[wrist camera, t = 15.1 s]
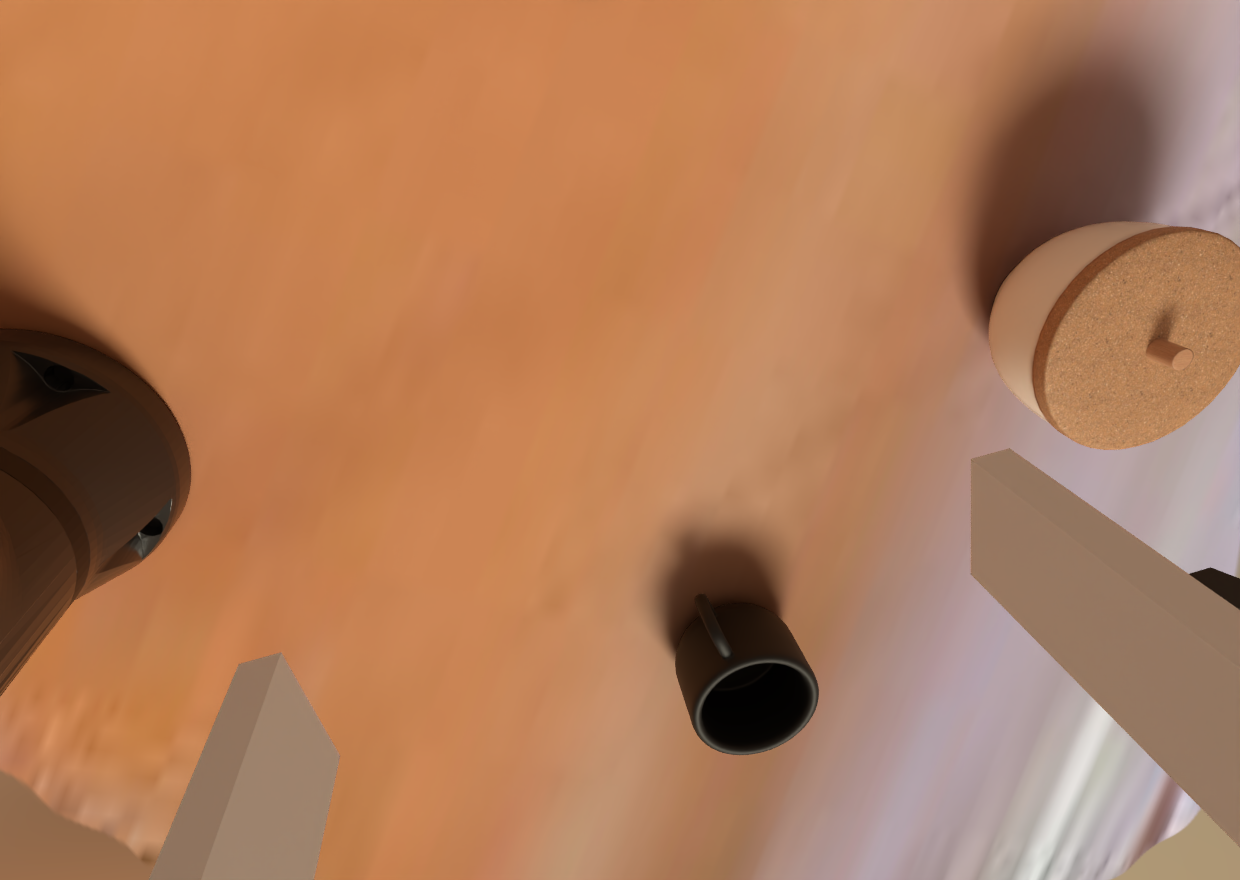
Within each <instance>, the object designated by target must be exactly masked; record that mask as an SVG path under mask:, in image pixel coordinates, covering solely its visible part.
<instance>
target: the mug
mask: <svg viewBox="0 0 1240 880" xmlns="http://www.w3.org/2000/svg"><path fill="white" fill-rule="evenodd" d="M695 603H696V606H697V608H698V611H699V613H700V615H701V616H700V617H698V618H697V619H696V620H695V621H694V622H692V624H691V625H690V626H689V627H688V628H687V630H686V631H685V632H684V634H683V636H682V638H681V640H680V643H679V646H678V649H677V653H676V661H675V667H676V675H677V678H678V682H679V685H680V688H681V691H682V694H683V697H684V700H685V703H686V706H687V709H688V712H689V715H690V719H691V722H692V725H693V728H694V730H695V731H696V733H697V735H698V736H699V738H700V739H701V740H702V741H703V742H704V743H705V744H707V745H708V746H710V747H711V748H713V749H715V750H717V751H719V752H723V753H726V754H732V755H749V754H756V753H761V752H764V751H767V750H771V749H773V748H775V747H778V746H780V745H782V744H783V743H785V742H787V741H788V740H790V739H791V738H793V737H794V736H795V735H796V734H798V733H799V732H800V731H801V730H802V729H803V728H804V727H805V726H806V724H807V723H808V722H809V720H810V719H811V717H812V716H813V714H814V712H815V710H816V706H817V703H818V697H819V688H818V683H817V680H816V677H815V675H814V673H813V671H812V669H811V668H810V666H809V664H808V662H807V661H806V659H805V657H804V655H803V653H802V651H801V650H800V648H799V646H798V644H797V642H796V641H795V639H794V637H793V635H792V633H791V632H790V630H789V629H788V627H787V625H786V624H785V623H784V622H783V621H782V620H781V619H780V618H779V617H778V616H776V615H775V614H774V613H772V612H770V611H768V610H767V609H765V608H762V607H760V606H757V605H753V604H748V603H732V604H726V605H722V606H719V607H716V608H713V606H712V604H711V603H710V601H709V599H708V598H707V596H706V595H705V594H699V595H697V596H696V597H695Z"/></svg>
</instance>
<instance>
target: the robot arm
mask: <svg viewBox="0 0 1240 880" xmlns="http://www.w3.org/2000/svg"><path fill="white" fill-rule="evenodd" d="M190 483H191V465H190V458H189V453H188V449H187V446H186V442H185V440H184V437H183V435H182V432H181V430H180V428H179V426H178V424H177V422H176V421H175V419H174V417H173V416H172V414H171V412H170V411H169V410H168V408H167V407H166V405H165V404H164V403H163V402H162V400H161V399H160V398H159V397H158V396H157V395H156V394H155V393H154V391H153V390H152V389H151V388H150V387H149V386H147V385H146V384H145V383H144V382H143V381H142V380H141V379H140V378H138V377H137V376H136V375H135V374H134V373H132V372H131V371H130V370H128V369H127V368H126V367H124V366H122V365H121V364H119V363H118V362H116V361H115V360H113V359H111V358H110V357H108V356H106V355H104V354H102V353H100V352H98V351H96V350H94V349H92V348H90V347H87V346H85V345H83V344H80V343H78V342H75V341H72V340H69V339H66V338H63V337H59V336H55V335H51V334H47V333H42V332H36V331H29V330H18V329H0V696H1V695H2V694H3V692H4V691H5V690H6V688H7V687H8V686H9V684H10V683H11V682H12V681H13V679H14V678H15V677H16V675H17V674H18V673H19V671H20V670H21V669H22V667H23V666H24V665H25V663H26V662H27V661H28V660H29V658H30V657H31V656H32V654H33V653H34V652H35V650H36V649H37V648H38V646H39V645H40V644H41V643H42V641H43V640H44V639H45V637H46V636H47V635H48V634H49V632H50V631H51V630H52V628H53V627H54V626H55V625H56V623H57V622H58V621H59V619H60V618H61V617H62V616H63V614H64V613H65V611H66V610H67V609H68V607H69V606H70V605H71V604H72V602H73V601H74V600H76V599H78V598H80V597H81V596H83V595H85V594H87V593H89V592H90V591H92V590H94V589H96V588H97V587H99V586H101V585H103V584H105V583H106V582H108V581H110V580H112V579H114V578H115V577H117V576H119V575H121V574H123V573H124V572H126V571H128V570H130V569H132V568H133V567H135V566H136V565H138V564H139V563H140V562H142V561H143V560H144V559H145V558H146V557H148V556H149V555H150V554H151V553H152V552H153V551H154V550H155V549H156V548H157V547H158V546H159V545H160V544H161V542H162V541H163V540H164V538H165V537H166V535H167V534H168V533H169V531H170V530H171V528H172V527H173V526H174V524H175V523H176V521H177V520H178V518H179V516H180V515H181V513H182V511H183V509H184V507H185V504H186V501H187V498H188V494H189V490H190ZM971 575H972V576H973V577H974V578H975V579H976V580H977V581H978V582H979V583H980V584H981V585H982V586H983V587H984V588H985V589H986V590H987V591H988V592H989V593H990V594H991V595H992V596H993V597H994V598H995V599H996V600H997V601H998V602H999V603H1000V604H1001V605H1002V606H1003V607H1004V608H1005V609H1006V610H1007V611H1008V612H1009V613H1010V614H1011V615H1012V616H1013V617H1014V619H1015V620H1016V621H1017V622H1018V623H1019V624H1020V625H1021V626H1022V627H1023V628H1024V629H1025V630H1026V631H1027V632H1028V633H1029V634H1030V635H1031V636H1032V637H1033V638H1034V639H1035V640H1036V641H1037V642H1038V643H1039V644H1040V645H1041V646H1042V647H1043V648H1044V649H1045V650H1046V651H1047V652H1048V653H1049V654H1050V655H1051V656H1052V657H1053V658H1054V659H1055V660H1056V661H1057V662H1058V663H1059V664H1060V665H1061V666H1062V667H1063V668H1064V669H1065V670H1066V671H1067V672H1068V673H1069V674H1070V675H1071V676H1072V677H1073V678H1074V679H1075V680H1076V681H1077V682H1078V683H1079V684H1080V686H1081V687H1082V688H1083V689H1084V690H1085V691H1086V692H1087V693H1088V694H1089V695H1090V696H1091V697H1092V698H1093V699H1094V700H1095V701H1096V702H1097V703H1098V704H1099V705H1100V706H1101V707H1102V708H1103V709H1104V710H1105V711H1106V712H1107V713H1108V714H1109V715H1110V716H1111V717H1112V718H1113V719H1114V720H1115V721H1116V722H1117V723H1118V724H1119V725H1120V726H1121V727H1122V728H1123V729H1124V730H1125V731H1126V732H1127V733H1128V734H1129V735H1130V736H1131V737H1132V738H1133V739H1134V740H1135V741H1136V742H1137V743H1138V744H1139V745H1140V746H1141V747H1142V748H1143V749H1144V750H1145V752H1146V753H1147V754H1148V755H1149V756H1150V757H1151V758H1152V759H1153V760H1154V761H1155V762H1156V763H1157V764H1158V765H1159V766H1160V767H1161V768H1162V769H1163V770H1164V771H1165V772H1166V773H1167V774H1168V775H1169V776H1170V777H1171V778H1172V779H1173V780H1174V781H1175V782H1176V783H1177V784H1178V785H1179V786H1180V787H1181V788H1182V789H1183V790H1184V791H1185V792H1186V793H1187V794H1188V795H1189V796H1190V797H1191V798H1192V799H1193V800H1194V801H1195V802H1196V803H1197V804H1198V805H1199V806H1200V807H1201V808H1202V809H1203V810H1204V811H1205V812H1206V813H1207V814H1208V815H1209V816H1210V817H1211V818H1212V819H1213V821H1214V822H1215V823H1216V824H1217V825H1218V826H1219V827H1220V828H1221V829H1222V830H1223V831H1225V833H1227V835H1228V836H1229V837H1230V838H1231V839H1232V840H1233V841H1234V842H1235V843H1236V844H1238V846H1239V847H1240V579H1239V578H1237V577H1234V576H1232V575H1229V574H1226V573H1224V572H1221V571H1218V570H1216V569H1213V568H1207V569H1204V570H1201V571H1197V572H1194V573H1190V574H1188V573H1186V572H1185V571H1183V570H1182V569H1181V568H1179V567H1178V566H1176V565H1175V564H1173V563H1172V562H1171V561H1169V560H1168V559H1166V558H1165V557H1163V556H1162V555H1161V554H1159V553H1158V552H1156V551H1155V550H1154V549H1152V548H1151V547H1149V546H1148V545H1146V544H1145V543H1144V542H1142V541H1141V540H1139V539H1138V538H1136V537H1135V536H1134V535H1132V534H1131V533H1129V532H1128V531H1126V530H1125V529H1124V528H1122V527H1121V526H1119V525H1118V524H1116V523H1115V522H1114V521H1112V520H1111V519H1109V518H1108V517H1106V516H1105V515H1104V514H1102V513H1101V512H1099V511H1098V510H1096V509H1095V508H1094V507H1092V506H1091V505H1089V504H1088V503H1087V502H1085V501H1084V500H1082V499H1081V498H1079V497H1078V496H1077V495H1075V494H1074V493H1072V492H1071V491H1069V490H1068V489H1067V488H1065V487H1064V486H1062V485H1061V484H1059V483H1058V482H1057V481H1055V480H1054V479H1052V478H1051V477H1049V476H1048V475H1047V474H1045V473H1044V472H1042V471H1041V470H1039V469H1038V468H1037V467H1035V466H1034V465H1032V464H1031V463H1030V462H1028V461H1027V460H1025V459H1024V458H1022V457H1021V456H1020V455H1018V454H1017V453H1015V452H1014V451H1012V450H1011V449H1010V448H1009V449H1005V450H1002V451H998V452H995V453H991V454H988V455H984V456H980V457H977V458H973V459H971ZM339 759H340V755H339V753H338V751H337V750H336V748H335V746H334V744H333V743H332V741H331V739H330V737H329V735H328V734H327V732H326V730H325V728H324V727H323V725H322V723H321V721H320V720H319V718H318V716H317V714H316V713H315V711H314V709H313V707H312V706H311V704H310V702H309V700H308V699H307V697H306V695H305V693H304V692H303V690H302V688H301V686H300V685H299V683H298V681H297V679H296V678H295V676H294V674H293V672H292V670H291V669H290V667H289V665H288V663H287V662H286V660H285V658H284V656H283V655H282V653H277V654H274V655H270V656H266V657H263V658H259V659H256V660H252V661H249V662H245V663H241V664H239V665H238V667H237V670H236V672H235V675H234V677H233V679H232V682H231V684H230V687H229V689H228V691H227V694H226V696H225V699H224V701H223V703H222V706H221V708H220V711H219V713H218V715H217V718H216V720H215V722H214V725H213V727H212V730H211V732H210V734H209V737H208V739H207V742H206V744H205V746H204V749H203V751H202V754H201V756H200V758H199V761H198V763H197V766H196V768H195V770H194V773H193V775H192V777H191V780H190V782H189V785H188V787H187V789H186V792H185V794H184V797H183V799H182V801H181V804H180V806H179V809H178V811H177V813H176V816H175V818H174V821H173V823H172V825H171V828H170V830H169V832H168V835H167V837H166V840H165V842H164V844H163V847H162V849H161V852H160V854H159V856H158V859H157V861H156V864H155V866H154V868H153V871H152V873H151V876H150V878H149V880H314V877H315V872H316V867H317V863H318V858H319V853H320V849H321V844H322V839H323V834H324V830H325V825H326V820H327V815H328V811H329V806H330V801H331V797H332V792H333V787H334V782H335V778H336V773H337V768H338V764H339Z"/></svg>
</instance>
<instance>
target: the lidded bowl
mask: <svg viewBox="0 0 1240 880" xmlns="http://www.w3.org/2000/svg"><path fill="white" fill-rule="evenodd" d="M989 345H990V351H991V356H992V359H993V362H994V364H995V367H996V369H997V371H998V373H999V375H1000V377H1001V379H1002V380H1003V381H1004V383H1005V384H1006V386H1007V387H1008V388H1009V389H1010V391H1011V392H1012V393H1013V394H1014V395H1015V396H1016V397H1017V398H1018V399H1019V400H1020V401H1021V402H1022V403H1023V404H1024V405H1025V406H1026V407H1028V408H1029V409H1030V410H1031V411H1032V412H1033V413H1035V414H1036V415H1038V416H1039V417H1041V418H1042V419H1044V420H1045V421H1047V422H1049V423H1050V424H1051V425H1052V426H1053V427H1054V428H1055V429H1056V430H1057V431H1059V432H1060V433H1062V434H1063V435H1065V436H1067V437H1068V438H1070V439H1072V440H1073V441H1075V442H1077V443H1079V444H1081V445H1084V446H1087V447H1090V448H1096V449H1103V450H1117V449H1125V448H1130V447H1136V446H1139V445H1143V444H1146V443H1149V442H1153V441H1155V440H1157V439H1159V438H1161V437H1163V436H1165V435H1167V434H1169V433H1171V432H1173V431H1174V430H1176V429H1178V428H1180V427H1181V426H1183V425H1184V424H1186V423H1187V422H1188V421H1190V420H1191V419H1192V418H1193V417H1195V416H1196V415H1197V414H1199V413H1200V412H1201V411H1202V410H1203V409H1204V408H1205V407H1206V406H1207V405H1209V404H1210V403H1211V402H1212V401H1213V400H1214V398H1215V397H1216V396H1217V395H1218V394H1219V393H1220V392H1221V390H1222V389H1223V388H1224V387H1225V386H1226V384H1227V383H1228V381H1229V380H1230V379H1231V377H1232V376H1233V375H1234V373H1235V372H1236V370H1237V368H1238V367H1239V365H1240V247H1238V246H1237V245H1236V244H1235V243H1234V242H1233V241H1231V240H1230V239H1228V238H1226V237H1224V236H1222V235H1220V234H1218V233H1214V232H1210V231H1206V230H1202V229H1197V228H1192V227H1174V226H1169V225H1163V224H1157V223H1149V222H1125V221H1118V222H1106V223H1098V224H1091V225H1088V226H1084V227H1081V228H1077V229H1074V230H1071V231H1068V232H1065V233H1063V234H1061V235H1059V236H1056V237H1054V238H1052V239H1051V240H1049V241H1047V242H1045V243H1044V244H1042V245H1041V246H1039V247H1038V248H1036V249H1035V250H1033V251H1032V252H1031V253H1030V254H1029V255H1027V256H1026V257H1025V258H1024V259H1023V260H1022V261H1021V262H1020V263H1019V264H1018V265H1017V266H1016V267H1015V268H1014V269H1013V270H1012V271H1011V272H1010V274H1009V275H1008V276H1007V277H1006V279H1005V280H1004V281H1003V283H1002V285H1001V287H1000V288H999V290H998V292H997V295H996V297H995V300H994V304H993V307H992V312H991V316H990V322H989Z"/></svg>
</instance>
